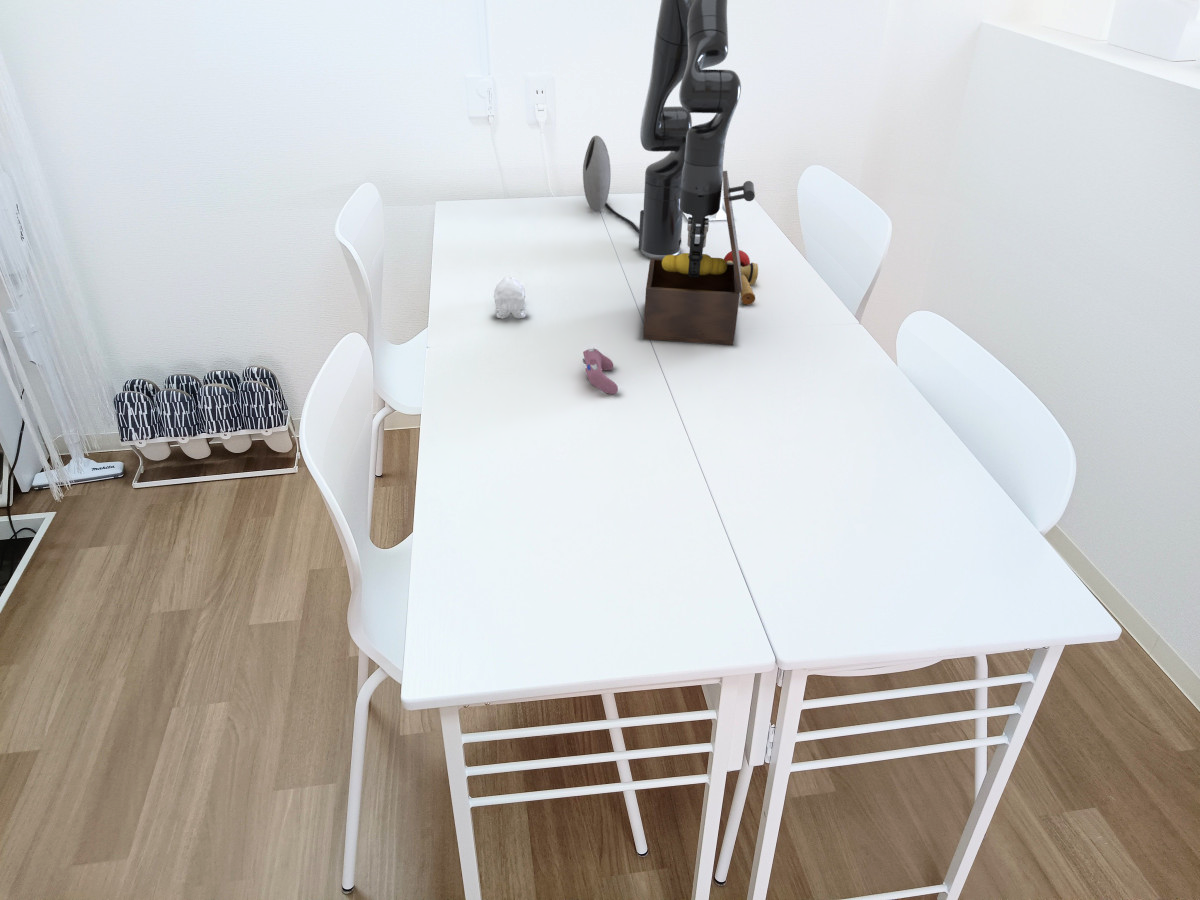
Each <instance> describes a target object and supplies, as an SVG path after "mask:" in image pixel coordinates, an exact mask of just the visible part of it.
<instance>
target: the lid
mask: <svg viewBox="0 0 1200 900" xmlns="http://www.w3.org/2000/svg"><path fill="white" fill-rule="evenodd" d="M722 188H723V189H722V190H723V191H722V192H723V196H724V197H723V204H724V208H725V210H724V211H725V213H726V216H727V220H726V222H727V228H728V229H727V230H728V237H729V242H730V249H731V250H730V251H732V256H733V263H734V270H735V276H736V283H737V290H738V292H742V282H741V266H740V256H739V250H740V248H739V244H738V235H737V230H736V222H735V216H734V209H733V203H732V202H733V201H738V200H743V199H744V201H746V202H752V201H753V200H755V197H756V194H755V185H754V182H752V181H751V180H747V181H746V180H745V182H743V184H742V185H739V186H734V187H733V186H732V187H730V182H729V175H728V170H723V181H722ZM741 191H742V192H743V193H741V194H740V193H739V194H735V195H731V194H732V193H735V192H741Z"/></svg>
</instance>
